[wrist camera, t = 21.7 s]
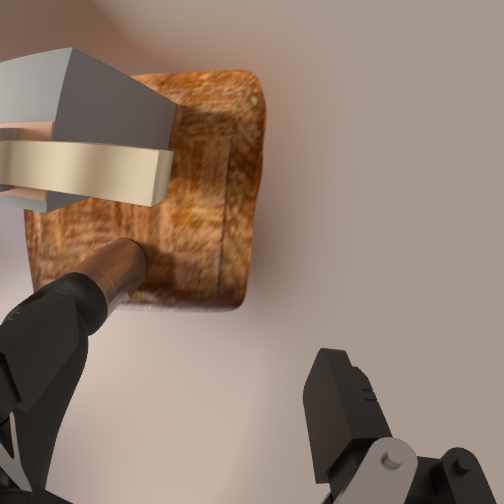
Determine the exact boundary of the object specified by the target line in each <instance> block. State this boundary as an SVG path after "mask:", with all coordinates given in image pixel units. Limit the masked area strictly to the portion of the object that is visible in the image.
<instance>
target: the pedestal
mask: <svg viewBox="0 0 504 504" xmlns="http://www.w3.org/2000/svg"><path fill="white" fill-rule="evenodd" d="M176 106H177V104H175V103H174V102H172V101H171V100H169V99H167V98H166V97H164V96H162V95H161V94H159V93H157V92H156V91H154V90H152V89H150V88H149V87H147V86H145V85H143V84H142V83H140V82H138V81H136V80H135V79H133V78H131V77H129V76H127V75H126V74H124V73H122V72H120V71H118V70H116V69H115V68H113V67H111V66H109V65H107V64H105V63H103V62H101V61H99V60H98V59H96V58H93V57H92V56H90V55H88V54H86V53H84V52H82V51H80V50H77V49H75V48H73V47H71V48H64V49H59V50H52V51H47V52H42V53H37V54H32V55H28V56H24V57H20V58H16V59H13V60H8V61H5V62H1V63H0V128H19V133H18V140H49V141H73V142H89V143H103V144H114V145H125V146H135V147H144V148H152V149H160V150H168V145H169V140H170V135H171V130H172V125H173V120H174V115H175V110H176ZM88 198H91V197H90V196H84V195H77V194H71V193H64V192H57V191H51V190H44V189H37V188H30V187H23V186H15V185H14V189H12V190H8V191H4V192H0V204H4V205H9V206H14V207H19V208H23V209H28V210H33V211H38V212H43V213H48V212H51V211H54V210H56V209H59V208H62V207H65V206H68V205H70V204H73V203H76V202H79V201H82V200H85V199H88Z"/></svg>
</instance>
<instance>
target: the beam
mask: <svg viewBox="0 0 504 504" xmlns="http://www.w3.org/2000/svg"><path fill="white" fill-rule="evenodd" d="M18 133H19V128H0V192H4V191H8V190H12V189H14V185H15V186H23V187H30V188H37V189H44V190H51V191H57V192H64V193H71V194H77V195H84V196H90V197H96V198H102V199H109V200H115V201H121V202H127V203H132V204H138V205H144V206H150V207H151V206H153V205H155V204H157V203H159V202H161V201H163V200H165V199H167V193H168V186H169V179H170V173H171V167H172V161H173V155H174V151H168V150H160V149H152V148H144V147H135V146H125V145H114V144H103V143H89V142H73V141H49V140H18Z"/></svg>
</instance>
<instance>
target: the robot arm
mask: <svg viewBox="0 0 504 504" xmlns="http://www.w3.org/2000/svg"><path fill="white" fill-rule="evenodd" d="M145 271H146V258H145V255H144V252H143V251H142V249H141V248H140V246H139V245H138V244H137V243H135V242H134V241H132V240H130V239H126V238H118V239H115V240H113V241H112V242H110V243H108V244H107V245H106V246H104V247H103V248H101V249H100V250H98V251H97V252H96V253H94V254H93V255H91V256H90V257H88V258H87V259H86V260H84V261H83V262H81V263H80V264H79V265H77V266H76V267H74V268H73V269H72V270H70V271H69V272H68V273H66V274H65V275H64V276H62V277H61V278H59V279H57V280H55V281H53V282H51V283H49V284H47V285H45V286H43V287H42V288H41V289H39V290H38V291H36V292H35V293H34V294H32V295H31V296H29V297H28V298H27V299H25V300H24V301H23V302H21V303H20V304H19V305H18V306H16V307H15V308H14V309H12V310H11V311H10V312H9V314H8V315H7V316H6V317H5V319H4V320H3V323H2V324H1V325H0V504H73V503H71V502H68V501H66V500H64V499H62V498H60V497H58V496H56V495H54V494H52V493H50V492H49V491H47V490H45V487H46V481H47V476H48V472H49V467H50V463H51V458H52V454H53V450H54V446H55V442H56V438H57V434H58V431H59V428H60V426H61V422H62V420H63V417H64V415H65V412H66V410H67V407H68V405H69V403H70V400H71V398H72V395H73V393H74V391H75V389H76V386H77V384H78V381H79V379H80V377H81V375H82V372H83V369H84V366H85V363H86V359H87V354H88V336H90V335H92V334H94V333H95V332H96V331H97V330H98V329H99V328H100V327H101V326H102V325H103V323H104V322H105V320H106V319H107V318H108V317H109V316H110V314H111V313H112V312H113V311H114V309H115V308H116V307H117V306H118V305H119V303H120V302H123V301H126V300H129V299H130V298H131V296H132V295H133V294H134V293H135V291H136V290H137V289H138V288H139V286H140V285H141V284H142V283H143V282H144V280H145V279H146V278H147V276H146V273H145ZM303 404H304V409H305V416H306V421H307V428H308V434H309V441H310V447H311V453H312V460H313V467H314V473H315V480H316V484H319V483H320V484H322V483H329V484H330V489H331V491H330V492H329V493H328V494H327V495H326V497H325V498H324V500H323V501H322V502H321V504H496V501H495V499H494V496H493V494H492V491H491V489H490V486H489V484H488V482H487V480H486V477H485V475H484V473H483V471H482V468H481V466H480V464H479V462H478V460H477V458H476V457H475V456H474V455H473V454H472V453H471V452H470V451H468V450H466V449H464V448H459V447H457V448H452V449H450V450H448V451H447V452H446V453H445V454H444V455H443V456H442V457H441V458H440V459H435V458H427V457H419V456H416V453H415V452H414V450H413V449H412V448H411V447H410V446H409V445H408V444H407V443H406V442H404V441H402V440H400V439H397V438H393V437H392V434H391V432H390V429H389V427H388V424H387V422H386V419H385V417H384V415H383V412H382V410H381V407H380V405H379V403H378V402H377V398H376V396H375V393H374V392H373V389H372V386H371V384H370V382H369V379H368V378H367V376H366V375H365V374H364V373H363V372H362V371H361V370H360V369H359V368H358V367H352V365H351V363H350V360H349V358H348V355H347V353H346V352H345V351H344V350H336V349H327V348H321V349H320V350H319V352H318V354H317V356H316V359H315V361H314V364H313V366H312V368H311V371H310V374H309V376H308V378H307V380H306V383H305V386H304V391H303Z"/></svg>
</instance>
